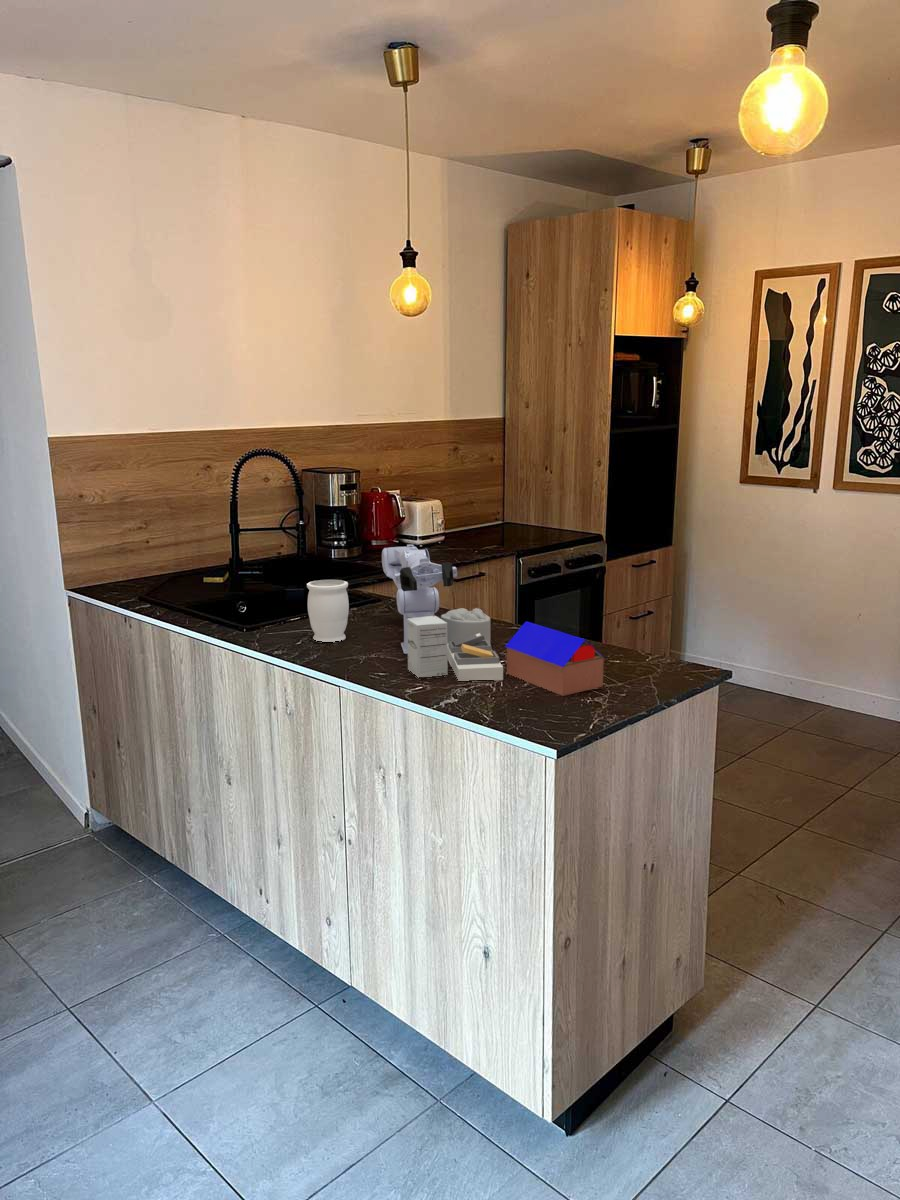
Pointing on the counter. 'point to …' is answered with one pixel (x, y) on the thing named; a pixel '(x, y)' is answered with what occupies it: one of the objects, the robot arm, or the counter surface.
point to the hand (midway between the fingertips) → (432, 583)
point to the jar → (328, 609)
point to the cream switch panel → (474, 663)
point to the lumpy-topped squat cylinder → (466, 624)
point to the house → (554, 660)
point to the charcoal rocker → (469, 640)
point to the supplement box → (427, 646)
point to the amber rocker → (476, 651)
